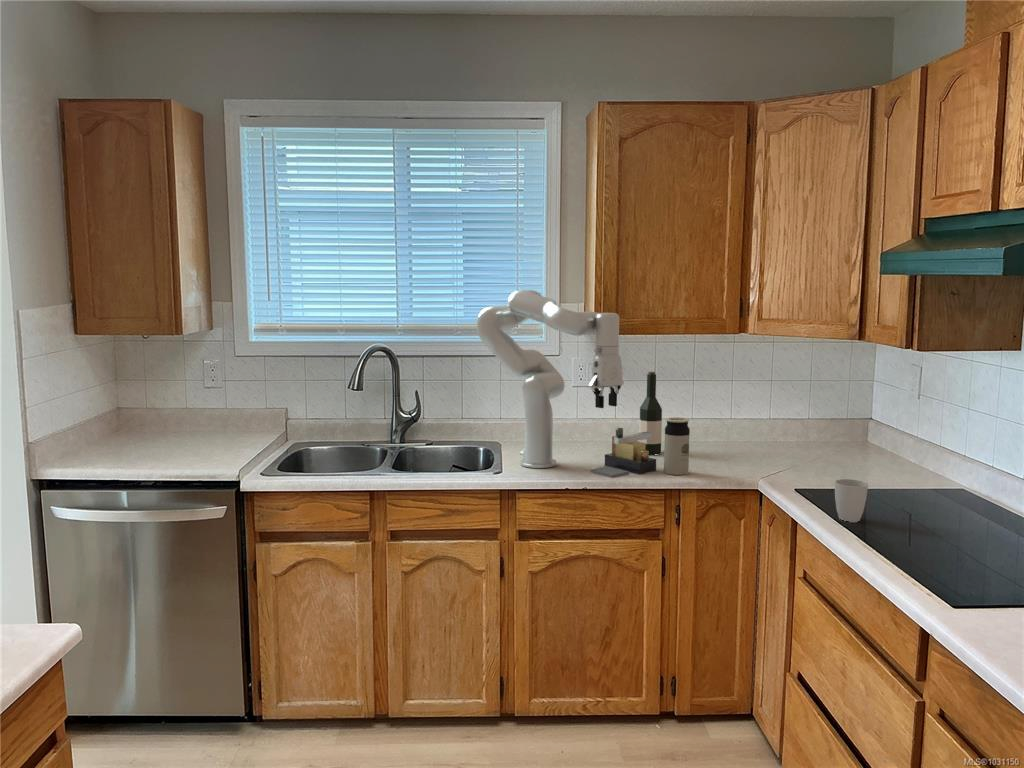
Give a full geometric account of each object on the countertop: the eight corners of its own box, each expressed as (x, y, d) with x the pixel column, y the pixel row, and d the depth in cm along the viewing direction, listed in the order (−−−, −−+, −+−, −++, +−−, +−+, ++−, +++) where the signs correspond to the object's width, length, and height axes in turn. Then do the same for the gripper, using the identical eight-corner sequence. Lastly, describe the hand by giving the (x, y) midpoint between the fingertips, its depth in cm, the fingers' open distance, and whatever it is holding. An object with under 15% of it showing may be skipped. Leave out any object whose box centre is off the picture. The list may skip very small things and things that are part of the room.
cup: (857, 515, 217) (859, 478, 216) (871, 524, 209) (873, 486, 208) (827, 515, 217) (829, 479, 215) (840, 524, 209) (842, 486, 207)
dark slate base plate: (604, 465, 275) (605, 437, 274) (620, 462, 280) (621, 434, 279) (639, 474, 263) (640, 444, 261) (656, 470, 268) (656, 441, 266)
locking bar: (613, 443, 267) (613, 428, 266) (645, 437, 277) (645, 422, 276) (618, 444, 265) (619, 429, 264) (650, 438, 275) (651, 423, 274)
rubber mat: (590, 471, 266) (590, 469, 266) (606, 468, 271) (606, 466, 271) (612, 477, 259) (612, 475, 259) (628, 473, 264) (628, 471, 264)
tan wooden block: (615, 456, 272) (615, 441, 271) (627, 453, 276) (627, 439, 275) (633, 460, 266) (633, 445, 265) (645, 457, 270) (645, 442, 269)
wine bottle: (635, 454, 294) (636, 372, 290) (642, 449, 301) (644, 370, 297) (657, 456, 290) (659, 373, 286) (664, 452, 297) (666, 371, 294)
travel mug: (659, 471, 267) (660, 418, 265) (678, 469, 270) (680, 416, 268) (673, 476, 260) (674, 421, 257) (693, 474, 263) (694, 420, 261)
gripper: (596, 353, 250) (595, 410, 253) (633, 350, 261) (632, 405, 263) (579, 351, 256) (579, 408, 258) (616, 349, 267) (615, 403, 269)
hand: (606, 406), depth 261 cm, fingers open, 5 cm apart
